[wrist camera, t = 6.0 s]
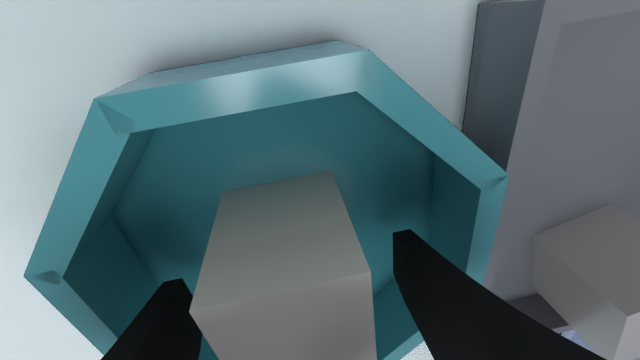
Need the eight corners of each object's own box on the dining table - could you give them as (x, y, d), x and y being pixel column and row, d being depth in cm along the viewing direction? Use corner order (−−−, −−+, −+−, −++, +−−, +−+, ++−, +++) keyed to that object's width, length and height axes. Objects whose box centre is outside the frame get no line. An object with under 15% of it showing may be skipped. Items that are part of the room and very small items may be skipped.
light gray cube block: (600, 259, 16) (702, 334, 12) (532, 286, 16) (610, 367, 12) (611, 203, 14) (740, 274, 10) (531, 236, 14) (627, 316, 10)
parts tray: (637, 267, 18) (687, 301, 16) (439, 314, 17) (463, 356, 15) (847, -60, 10) (1014, -82, 7) (479, 3, 9) (545, -1, 7)
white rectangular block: (343, 261, 13) (378, 377, 9) (256, 280, 13) (249, 408, 8) (331, 170, 10) (370, 271, 6) (222, 191, 10) (189, 311, 6)
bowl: (432, 292, 16) (466, 351, 13) (191, 347, 15) (172, 422, 12) (459, 17, 9) (546, 18, 6) (15, 95, 8) (-120, 135, 5)
